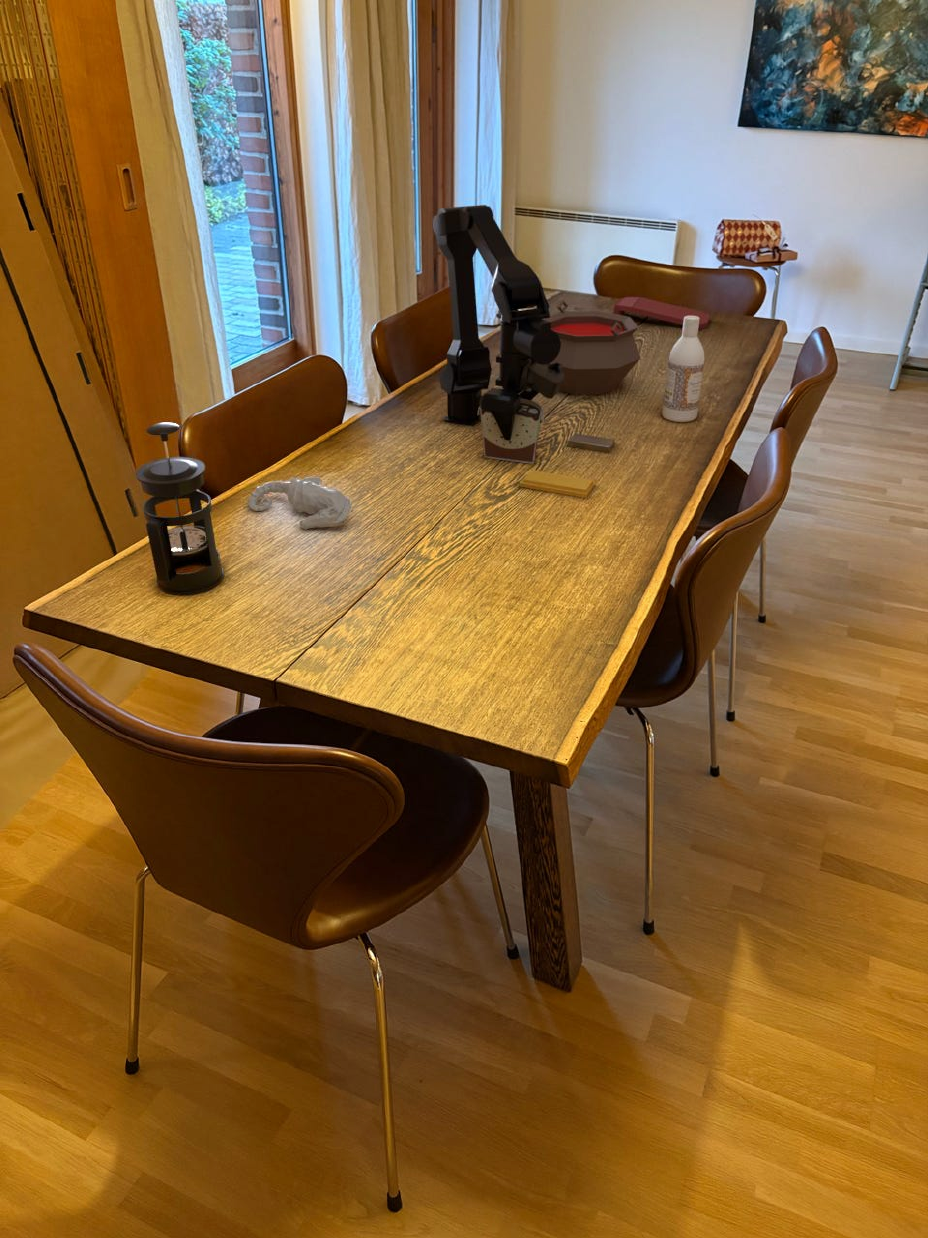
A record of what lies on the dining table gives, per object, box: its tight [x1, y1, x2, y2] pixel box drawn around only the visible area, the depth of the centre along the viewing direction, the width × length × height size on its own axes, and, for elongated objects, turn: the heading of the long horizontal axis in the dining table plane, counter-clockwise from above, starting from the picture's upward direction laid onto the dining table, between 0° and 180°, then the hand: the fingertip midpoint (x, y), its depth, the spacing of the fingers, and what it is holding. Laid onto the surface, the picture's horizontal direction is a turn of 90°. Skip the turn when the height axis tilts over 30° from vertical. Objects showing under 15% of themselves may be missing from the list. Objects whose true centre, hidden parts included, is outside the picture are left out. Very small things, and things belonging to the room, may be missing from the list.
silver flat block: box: [567, 433, 616, 453], centre depth 174 cm, size 8×4×1 cm, turn 66°
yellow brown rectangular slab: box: [518, 469, 595, 499], centre depth 158 cm, size 12×5×1 cm, turn 67°
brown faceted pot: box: [541, 299, 642, 396], centre depth 200 cm, size 24×24×16 cm
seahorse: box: [247, 476, 353, 531], centre depth 148 cm, size 5×12×20 cm
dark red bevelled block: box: [612, 296, 711, 330], centre depth 250 cm, size 12×5×25 cm
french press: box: [135, 422, 225, 596], centre depth 125 cm, size 12×9×23 cm
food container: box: [477, 399, 545, 465], centre depth 168 cm, size 12×6×10 cm, turn 71°
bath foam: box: [661, 316, 705, 423], centre depth 182 cm, size 7×7×20 cm
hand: (513, 434), depth 168 cm, fingers closed on food container, 6 cm apart
